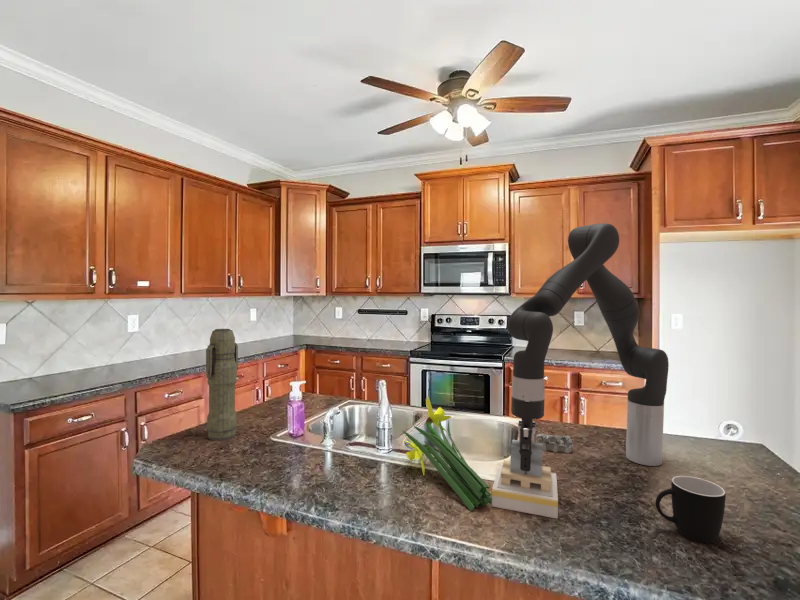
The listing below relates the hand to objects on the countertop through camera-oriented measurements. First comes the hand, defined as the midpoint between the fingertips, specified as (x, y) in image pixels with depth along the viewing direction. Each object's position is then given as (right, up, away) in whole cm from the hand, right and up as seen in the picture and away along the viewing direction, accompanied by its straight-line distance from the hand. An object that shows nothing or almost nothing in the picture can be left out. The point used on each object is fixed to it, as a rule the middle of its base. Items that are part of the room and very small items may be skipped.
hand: (526, 463), depth 98 cm
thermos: (-89, -6, +38) cm, 97 cm away
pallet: (0, -4, 0) cm, 4 cm away
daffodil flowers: (-17, -8, +9) cm, 21 cm away
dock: (0, -8, 0) cm, 8 cm away
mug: (+29, -9, -13) cm, 33 cm away
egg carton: (+18, -8, +32) cm, 38 cm away
